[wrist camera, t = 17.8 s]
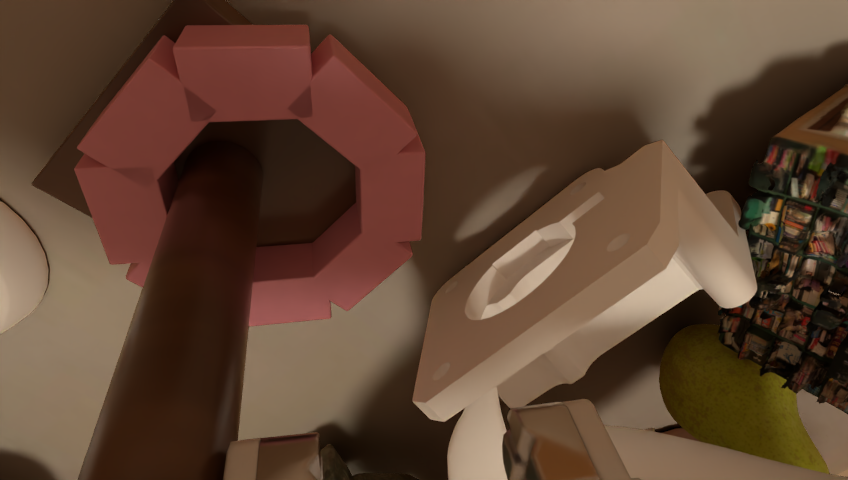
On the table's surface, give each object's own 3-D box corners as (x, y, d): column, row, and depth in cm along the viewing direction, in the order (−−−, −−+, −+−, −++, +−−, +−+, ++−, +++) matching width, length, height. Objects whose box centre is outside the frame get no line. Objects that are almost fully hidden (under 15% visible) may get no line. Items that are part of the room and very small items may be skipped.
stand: (48, 161, 18) (-326, 651, 7) (194, -27, 15) (-34, 282, 5) (252, 278, 22) (211, 692, 11) (391, 145, 20) (504, 510, 9)
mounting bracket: (651, 103, 23) (791, 141, 12) (737, 213, 24) (930, 331, 14) (436, 274, 26) (409, 414, 16) (520, 364, 27) (545, 548, 17)
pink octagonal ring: (41, 188, 17) (14, 225, 15) (236, -57, 14) (228, -44, 12) (290, 323, 22) (290, 361, 20) (469, 165, 19) (484, 195, 17)
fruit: (625, 327, 28) (793, 577, 19) (733, 280, 27) (964, 513, 18) (642, 386, 32) (791, 622, 22) (739, 345, 31) (934, 569, 21)
